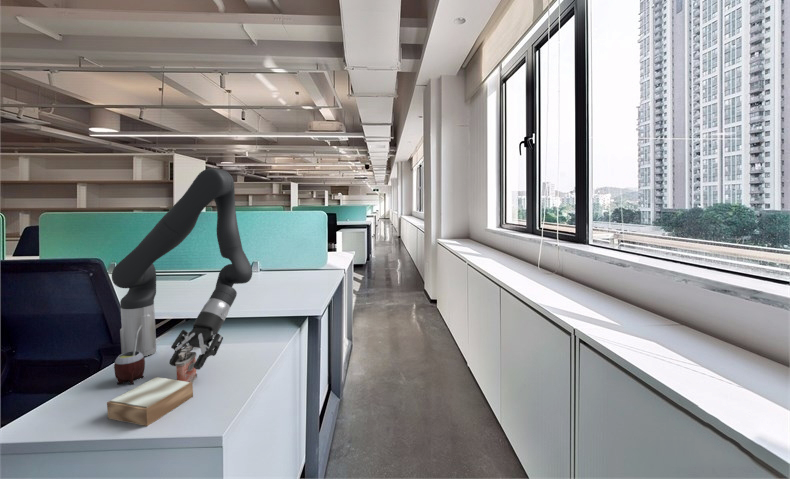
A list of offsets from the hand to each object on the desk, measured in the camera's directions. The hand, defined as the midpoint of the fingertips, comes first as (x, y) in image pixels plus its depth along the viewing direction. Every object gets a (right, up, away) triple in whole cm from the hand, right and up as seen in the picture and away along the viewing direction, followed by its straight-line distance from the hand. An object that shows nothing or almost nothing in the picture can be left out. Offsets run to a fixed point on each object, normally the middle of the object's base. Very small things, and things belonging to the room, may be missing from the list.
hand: (184, 366), depth 98 cm
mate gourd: (-17, -5, +3) cm, 18 cm away
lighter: (0, -5, +1) cm, 5 cm away
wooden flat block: (-1, -6, -11) cm, 13 cm away
